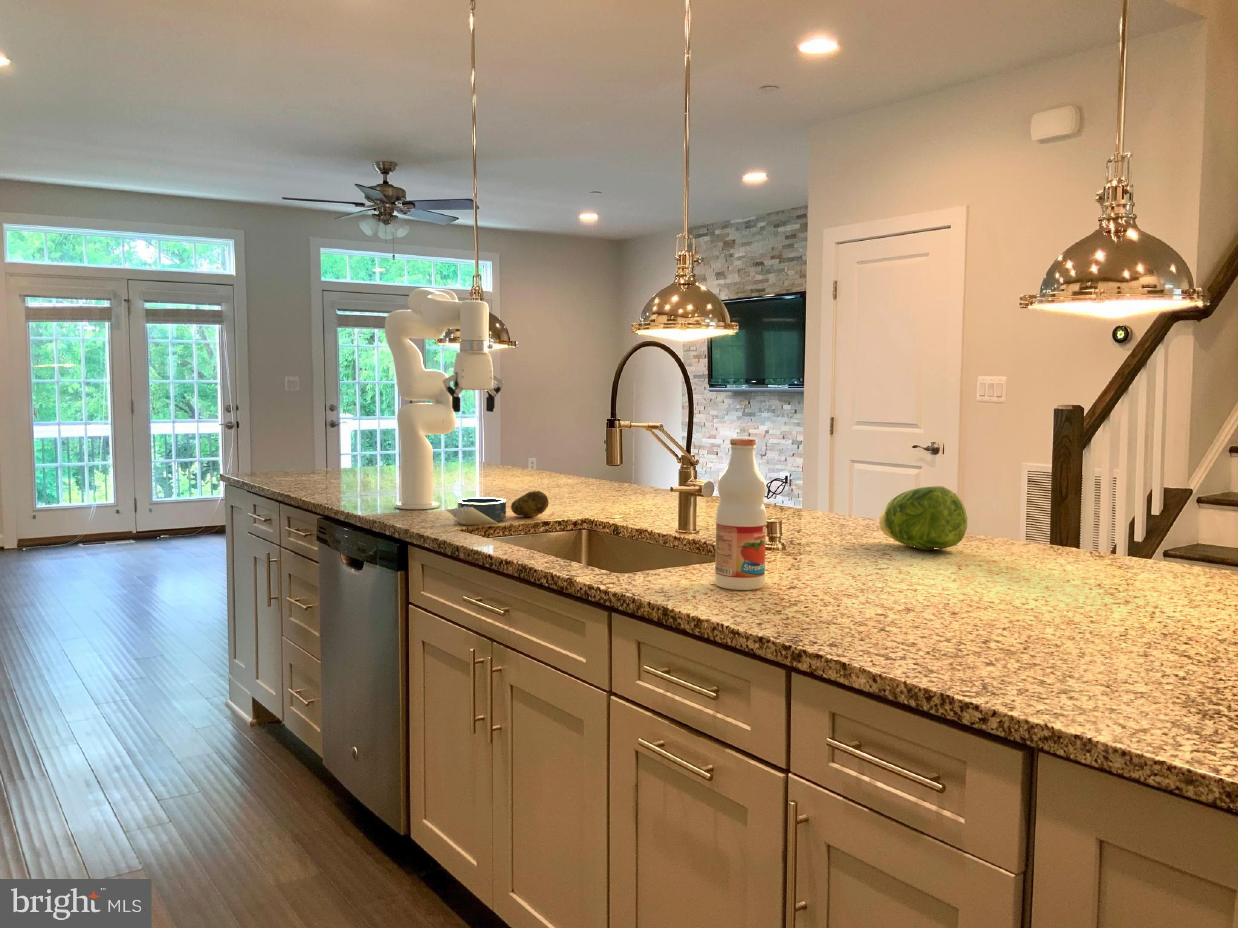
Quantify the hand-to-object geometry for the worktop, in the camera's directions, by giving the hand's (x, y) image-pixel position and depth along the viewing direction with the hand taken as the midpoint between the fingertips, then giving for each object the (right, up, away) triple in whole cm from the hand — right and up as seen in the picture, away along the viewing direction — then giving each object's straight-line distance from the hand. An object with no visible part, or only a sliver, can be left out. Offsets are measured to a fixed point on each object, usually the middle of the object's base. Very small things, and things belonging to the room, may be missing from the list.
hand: (473, 411), depth 249 cm
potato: (+14, -30, +14) cm, 35 cm away
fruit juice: (+62, -38, -73) cm, 103 cm away
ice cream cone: (+7, -30, -3) cm, 31 cm away
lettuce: (+111, -34, -28) cm, 120 cm away
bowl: (+1, -30, +8) cm, 31 cm away
